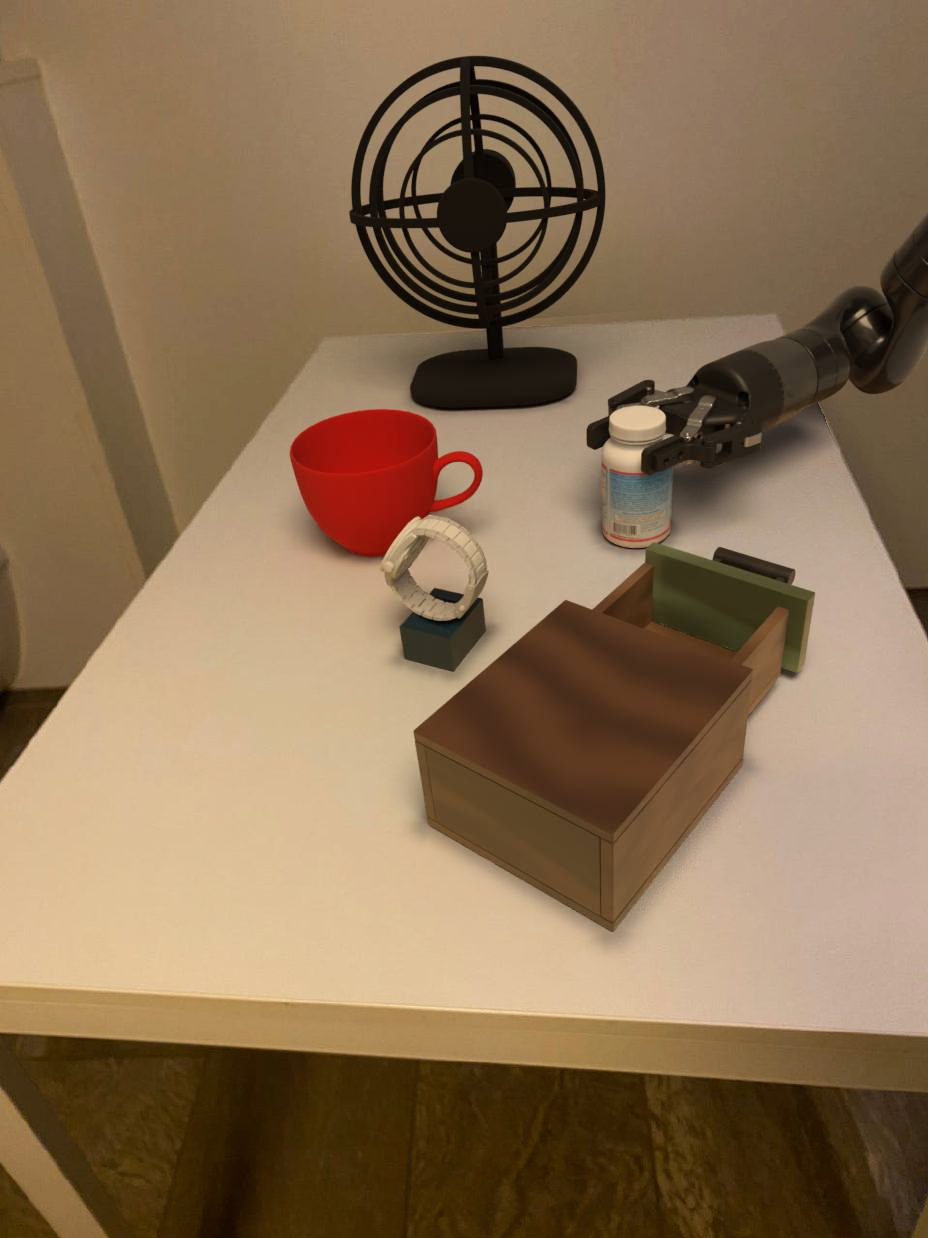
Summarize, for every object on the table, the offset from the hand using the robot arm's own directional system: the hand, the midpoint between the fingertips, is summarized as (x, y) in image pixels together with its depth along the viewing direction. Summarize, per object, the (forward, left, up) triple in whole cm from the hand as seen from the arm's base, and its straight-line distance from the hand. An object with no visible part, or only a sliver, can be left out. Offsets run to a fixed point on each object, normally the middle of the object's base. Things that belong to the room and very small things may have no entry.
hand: (616, 450), depth 80 cm
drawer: (-15, +13, -8) cm, 21 cm away
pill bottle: (-1, -2, -9) cm, 10 cm away
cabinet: (-15, +27, -9) cm, 32 cm away
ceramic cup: (+17, +10, -9) cm, 22 cm away
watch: (+3, +20, -9) cm, 22 cm away
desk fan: (+31, -22, -9) cm, 40 cm away
